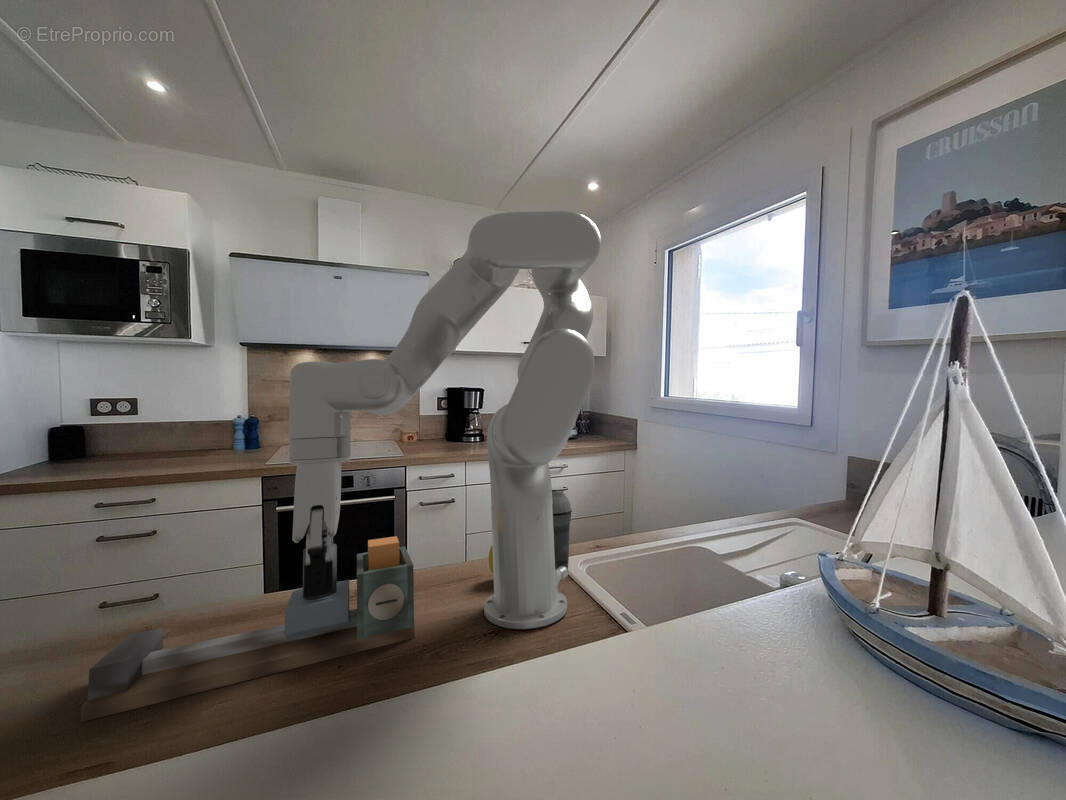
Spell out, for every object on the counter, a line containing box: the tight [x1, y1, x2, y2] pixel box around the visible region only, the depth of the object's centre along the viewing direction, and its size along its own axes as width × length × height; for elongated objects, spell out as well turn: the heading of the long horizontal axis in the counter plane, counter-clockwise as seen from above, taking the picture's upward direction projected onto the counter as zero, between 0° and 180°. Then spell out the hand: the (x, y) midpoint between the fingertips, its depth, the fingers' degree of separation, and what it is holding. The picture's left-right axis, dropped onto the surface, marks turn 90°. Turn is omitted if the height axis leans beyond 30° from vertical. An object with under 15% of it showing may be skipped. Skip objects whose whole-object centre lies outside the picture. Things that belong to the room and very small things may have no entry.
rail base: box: [80, 546, 415, 723], centre depth 50 cm, size 32×10×10 cm, turn 115°
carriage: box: [284, 542, 350, 640], centre depth 52 cm, size 7×7×10 cm
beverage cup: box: [552, 489, 573, 570], centre depth 74 cm, size 7×7×20 cm
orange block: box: [367, 535, 400, 571], centre depth 55 cm, size 4×4×4 cm
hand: (320, 586), depth 52 cm, fingers open, 4 cm apart
